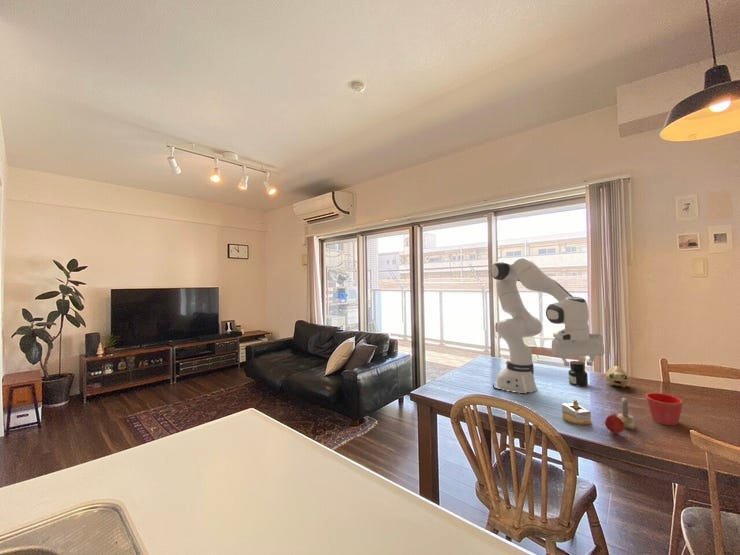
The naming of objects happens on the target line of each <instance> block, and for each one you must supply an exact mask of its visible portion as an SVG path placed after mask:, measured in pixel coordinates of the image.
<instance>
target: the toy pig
mask: <svg viewBox="0 0 740 555" xmlns="http://www.w3.org/2000/svg"><path fill="white" fill-rule="evenodd" d="M605 378H606V380H607V381H608V383H609V385H610V387H611V386H617V387H622V388H626V385H627V384H628V383H629V381H630V377H629V376H628V374H627V373H626V371H625V370H624V369H623V368H622V367H620V366H618V365H613V366H611V367H609V368H608V370H606V373H605Z"/></svg>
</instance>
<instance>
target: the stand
mask: <svg viewBox="0 0 740 555" xmlns="http://www.w3.org/2000/svg"><path fill="white" fill-rule="evenodd" d="M621 408H622V409H621V410H622V413H620V412H619V413H617V417H618V418H620V419H621V420H622V422H623V423H624V429H627V430H633V429H635V417H634V416H633V415H630V414H629V402H628V398H625V397H623V398H621Z"/></svg>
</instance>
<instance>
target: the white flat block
mask: <svg viewBox="0 0 740 555" xmlns="http://www.w3.org/2000/svg"><path fill="white" fill-rule="evenodd" d="M561 410H562V412H563V411H564V412H566V413H567V414H569V415H570V416H572V417H573V418H575V419H577V420H581V419H591V420H592V413H591V411H590V410H589V409H588V408H585V407H584V406H582V405H580V404H578V409H576V410H575V409H573V402H567V403H566V402H565V403H562V404H561Z"/></svg>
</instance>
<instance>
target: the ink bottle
mask: <svg viewBox="0 0 740 555" xmlns="http://www.w3.org/2000/svg"><path fill="white" fill-rule="evenodd" d="M569 367H570V369H569V370H568V382H569V383H568V384H570V385H572V386H577V387H587V386H588V385H589V380H588V377H589V376H588V372H587V371H586V364H585V362H583V361H580V360H573V361H572V360H570V362H569Z"/></svg>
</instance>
